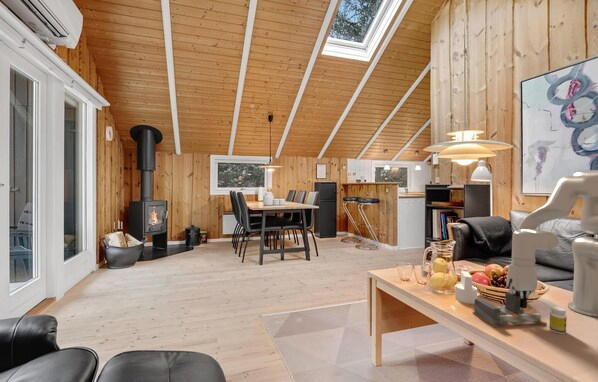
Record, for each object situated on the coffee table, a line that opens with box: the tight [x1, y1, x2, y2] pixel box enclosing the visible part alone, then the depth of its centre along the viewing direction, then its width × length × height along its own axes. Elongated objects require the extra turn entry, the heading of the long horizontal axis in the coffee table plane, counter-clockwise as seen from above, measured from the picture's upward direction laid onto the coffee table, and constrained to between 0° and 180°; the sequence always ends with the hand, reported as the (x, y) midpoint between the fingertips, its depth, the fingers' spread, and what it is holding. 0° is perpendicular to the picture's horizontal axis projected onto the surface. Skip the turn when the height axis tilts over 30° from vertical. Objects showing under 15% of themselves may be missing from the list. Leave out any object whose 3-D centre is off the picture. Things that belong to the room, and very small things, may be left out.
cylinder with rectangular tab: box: [454, 270, 478, 305], centre depth 141 cm, size 9×9×12 cm
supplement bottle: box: [548, 306, 568, 335], centre depth 112 cm, size 5×5×8 cm
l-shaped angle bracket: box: [500, 291, 520, 317], centre depth 119 cm, size 8×9×9 cm
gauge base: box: [472, 298, 547, 328], centre depth 121 cm, size 22×12×7 cm, turn 97°
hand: (521, 306), depth 122 cm, fingers closed
